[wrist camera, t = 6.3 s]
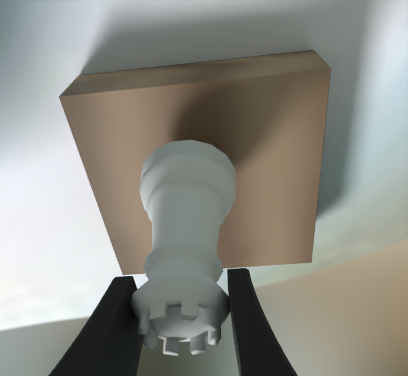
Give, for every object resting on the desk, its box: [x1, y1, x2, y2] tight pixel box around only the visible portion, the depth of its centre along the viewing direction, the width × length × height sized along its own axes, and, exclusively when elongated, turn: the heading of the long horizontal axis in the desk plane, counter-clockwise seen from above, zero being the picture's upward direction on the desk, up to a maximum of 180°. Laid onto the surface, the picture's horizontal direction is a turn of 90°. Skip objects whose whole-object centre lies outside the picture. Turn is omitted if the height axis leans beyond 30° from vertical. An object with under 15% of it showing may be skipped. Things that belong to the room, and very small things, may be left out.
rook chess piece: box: [130, 140, 236, 355], centre depth 14 cm, size 4×4×8 cm
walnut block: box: [59, 50, 331, 275], centre depth 20 cm, size 12×12×3 cm
